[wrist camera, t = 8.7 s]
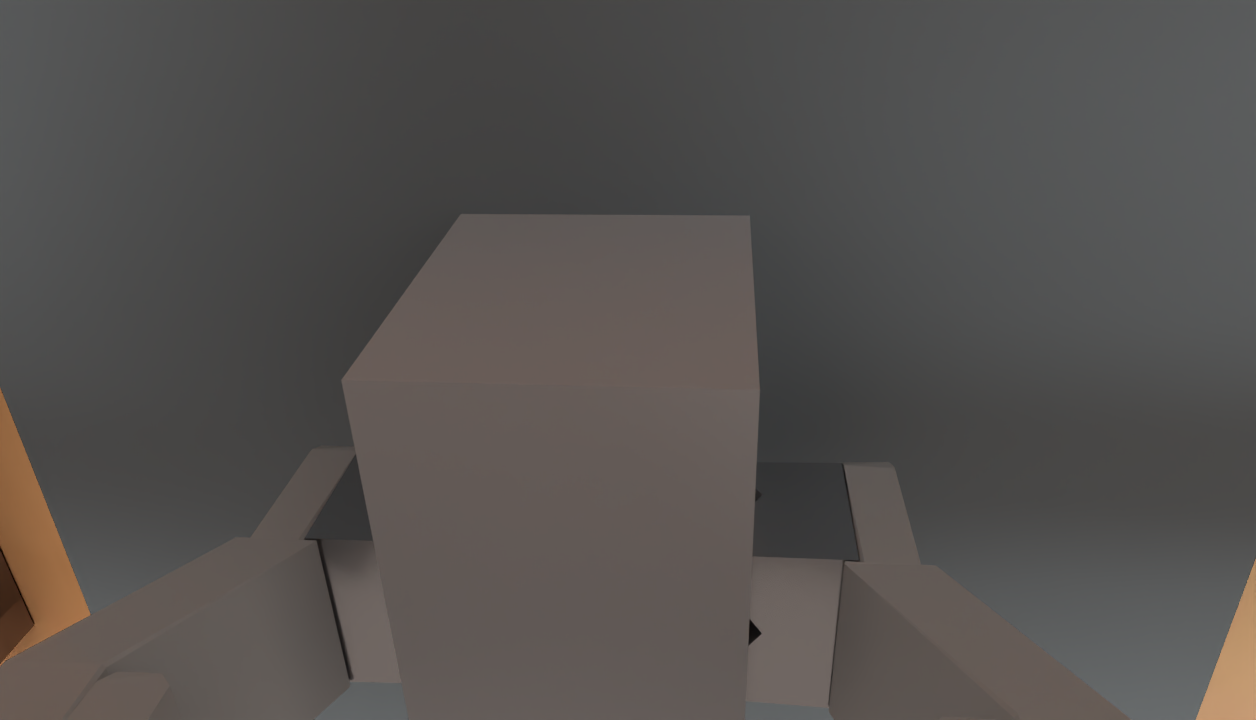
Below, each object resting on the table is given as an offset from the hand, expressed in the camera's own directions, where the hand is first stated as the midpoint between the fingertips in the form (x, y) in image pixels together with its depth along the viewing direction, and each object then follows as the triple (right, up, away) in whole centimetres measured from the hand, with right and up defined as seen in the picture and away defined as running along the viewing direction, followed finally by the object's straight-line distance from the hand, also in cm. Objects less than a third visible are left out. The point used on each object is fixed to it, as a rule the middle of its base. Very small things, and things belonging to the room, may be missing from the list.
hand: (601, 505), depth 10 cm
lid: (0, +1, +3) cm, 3 cm away
